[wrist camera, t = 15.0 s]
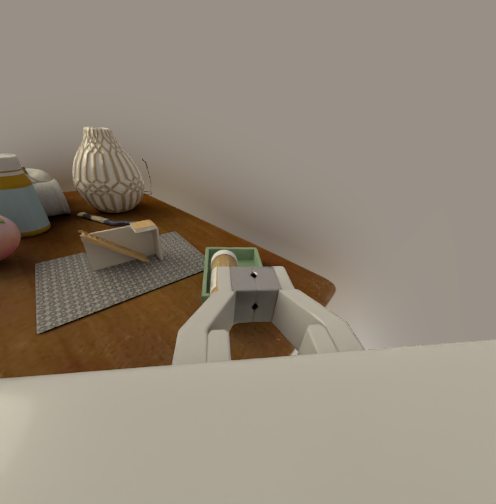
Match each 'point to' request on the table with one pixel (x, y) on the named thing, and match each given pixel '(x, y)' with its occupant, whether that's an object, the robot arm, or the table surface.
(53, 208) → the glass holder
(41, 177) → the decorative object
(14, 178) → the bottle
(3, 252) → the decorative fruit
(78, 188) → the vase
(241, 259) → the tray
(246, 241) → the table surface
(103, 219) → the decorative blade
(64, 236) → the table surface
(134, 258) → the model
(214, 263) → the sprinkles bottle
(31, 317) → the table surface
